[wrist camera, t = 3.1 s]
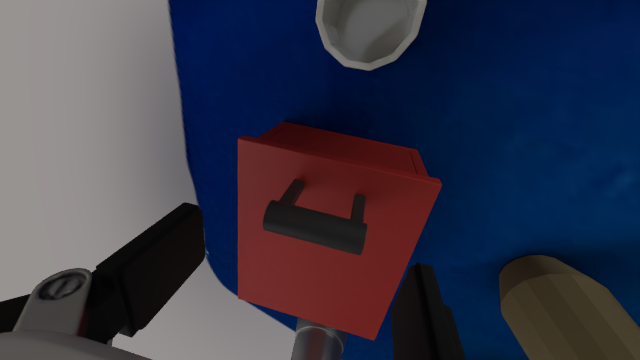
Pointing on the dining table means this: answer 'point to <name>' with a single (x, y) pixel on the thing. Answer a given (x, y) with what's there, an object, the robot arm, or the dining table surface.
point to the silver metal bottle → (317, 341)
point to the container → (368, 29)
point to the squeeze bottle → (564, 313)
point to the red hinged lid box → (347, 147)
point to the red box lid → (325, 233)
